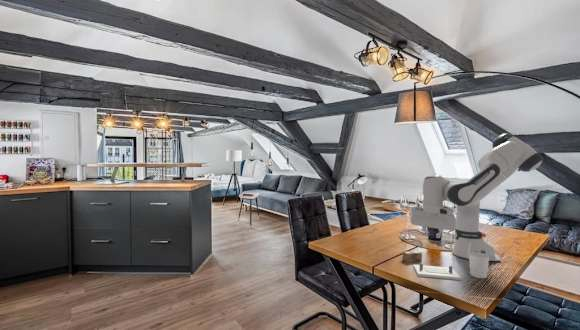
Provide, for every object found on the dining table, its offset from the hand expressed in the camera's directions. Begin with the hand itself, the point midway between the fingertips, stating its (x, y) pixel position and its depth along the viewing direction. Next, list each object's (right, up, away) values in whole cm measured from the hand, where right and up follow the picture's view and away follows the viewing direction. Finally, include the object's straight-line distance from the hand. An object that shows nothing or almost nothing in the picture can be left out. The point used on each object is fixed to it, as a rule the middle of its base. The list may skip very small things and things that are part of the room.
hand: (432, 236), depth 141 cm
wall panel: (+1, -17, -2) cm, 17 cm away
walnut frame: (-4, -17, +14) cm, 22 cm away
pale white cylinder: (+20, -18, -4) cm, 27 cm away
